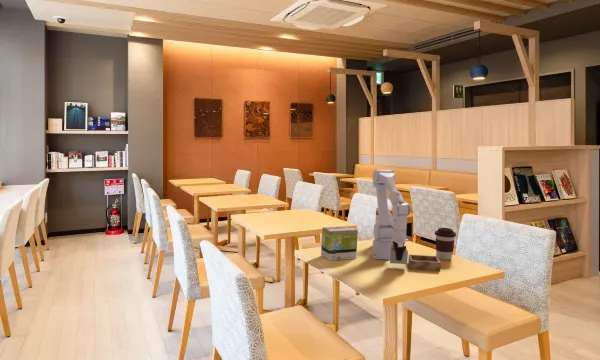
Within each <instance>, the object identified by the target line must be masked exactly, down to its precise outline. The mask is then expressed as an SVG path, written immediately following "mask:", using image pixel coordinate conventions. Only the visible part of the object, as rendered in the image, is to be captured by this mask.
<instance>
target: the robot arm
mask: <svg viewBox="0 0 600 360" xmlns="http://www.w3.org/2000/svg"><path fill="white" fill-rule="evenodd" d="M395 180H396V173H395V170H394V169H377V168H376V169H374V170H373V172H372V185H373V187H374V188H375V189H376V202H377V208H378V215H379V221H378V222H377V223H374V225H373V237H374V239H372V250H371V256H372V259H374V260H375V259H376V260H386V261H387V260H388V261H390V247H391V244H392V242H393V246H394V248H395V252H396V260H399V261H401V260H402V257H403V253H404V250H405V249H407V245H405V243H406V242H409V239H408V238H407V225H408V224H407V223H408V216H410V213H411V207H410V204H409V203H408V202H407V201H405V199H404V198H403V195H402V192H401V191H400V190H398V189H397V186H396V183H395ZM387 191H388V192H389V194H387ZM388 199H389V200H390V203H391V206H392V208H391V209H392V213H393V219H394V224H393V223H392V222H391V221H390V220H389V214H388V208H389V206H388ZM379 226H387V227H379ZM375 239H376V240H375Z"/></svg>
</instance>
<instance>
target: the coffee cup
mask: <svg viewBox="0 0 600 360" xmlns="http://www.w3.org/2000/svg"><path fill="white" fill-rule="evenodd" d="M434 235H435V251H436V253H435V254H436V255H435V256H437V258H438V259H439V260H441V261H451V260H452V257H453V252H454V247H455V237H456V236H457V233H456V232H455V231H454V230H453V228H449V227H438V229H437V230H435V231H434Z"/></svg>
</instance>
